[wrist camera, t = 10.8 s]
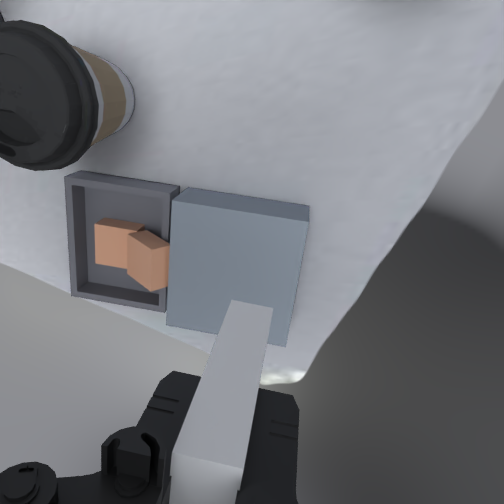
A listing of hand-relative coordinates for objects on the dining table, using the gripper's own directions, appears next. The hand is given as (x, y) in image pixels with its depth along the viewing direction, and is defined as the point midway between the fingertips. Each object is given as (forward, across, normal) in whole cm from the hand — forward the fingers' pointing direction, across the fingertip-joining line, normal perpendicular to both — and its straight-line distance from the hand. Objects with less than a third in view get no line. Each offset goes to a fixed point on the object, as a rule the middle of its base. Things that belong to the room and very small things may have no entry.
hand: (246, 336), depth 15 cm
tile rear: (+29, -18, -12) cm, 36 cm away
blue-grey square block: (+32, -4, -11) cm, 35 cm away
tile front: (+29, -13, -12) cm, 33 cm away
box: (+32, -18, -11) cm, 39 cm away
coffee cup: (+33, -22, +4) cm, 39 cm away
